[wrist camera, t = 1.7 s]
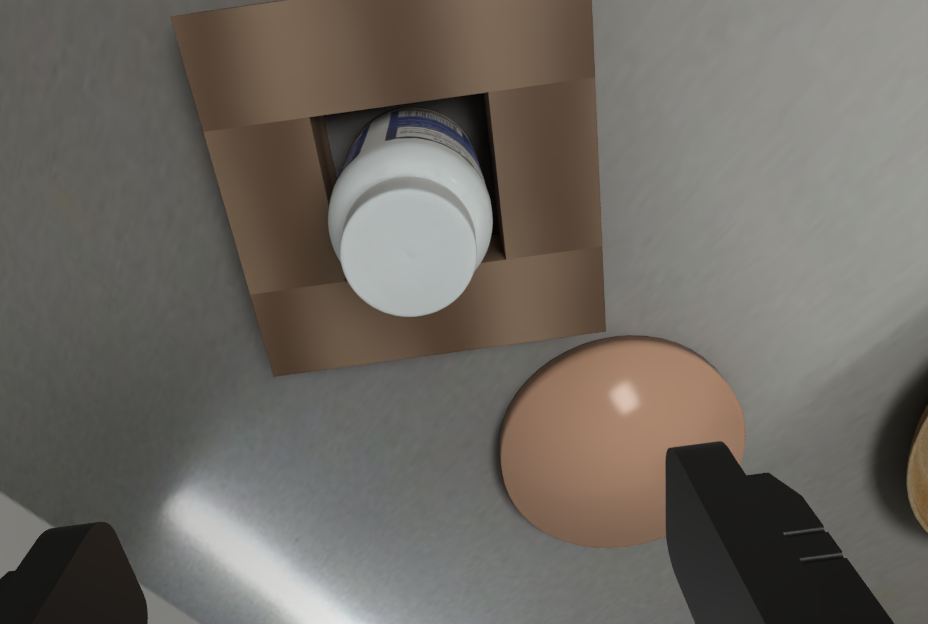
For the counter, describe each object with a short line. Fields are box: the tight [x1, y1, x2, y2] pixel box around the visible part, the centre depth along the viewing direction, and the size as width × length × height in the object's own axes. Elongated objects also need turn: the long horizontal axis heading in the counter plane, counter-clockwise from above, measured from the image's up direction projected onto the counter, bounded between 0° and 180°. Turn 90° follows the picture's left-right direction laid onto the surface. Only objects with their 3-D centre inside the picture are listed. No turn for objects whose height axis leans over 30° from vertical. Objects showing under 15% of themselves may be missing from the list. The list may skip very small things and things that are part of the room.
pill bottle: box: [328, 107, 493, 317], centre depth 24 cm, size 5×5×10 cm
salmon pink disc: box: [499, 336, 746, 548], centre depth 35 cm, size 12×12×1 cm
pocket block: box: [170, 0, 606, 376], centre depth 27 cm, size 14×14×3 cm
